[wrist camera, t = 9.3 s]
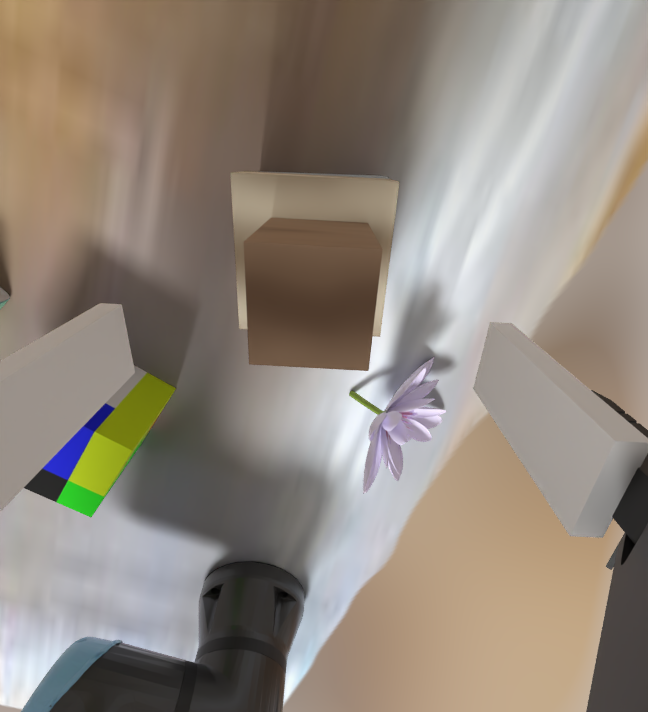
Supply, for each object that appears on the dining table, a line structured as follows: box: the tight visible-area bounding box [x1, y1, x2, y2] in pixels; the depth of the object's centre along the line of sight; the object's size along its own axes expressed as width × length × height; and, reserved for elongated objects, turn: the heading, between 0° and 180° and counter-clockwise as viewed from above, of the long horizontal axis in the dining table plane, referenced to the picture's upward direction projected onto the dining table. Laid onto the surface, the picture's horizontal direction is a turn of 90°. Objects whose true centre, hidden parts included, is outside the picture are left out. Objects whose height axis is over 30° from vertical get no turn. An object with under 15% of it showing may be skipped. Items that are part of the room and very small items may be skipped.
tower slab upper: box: [230, 171, 399, 337], centre depth 27 cm, size 10×10×5 cm
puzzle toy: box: [24, 365, 176, 517], centre depth 37 cm, size 10×10×10 cm
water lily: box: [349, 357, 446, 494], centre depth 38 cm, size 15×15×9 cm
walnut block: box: [244, 218, 383, 371], centre depth 21 cm, size 6×6×8 cm
